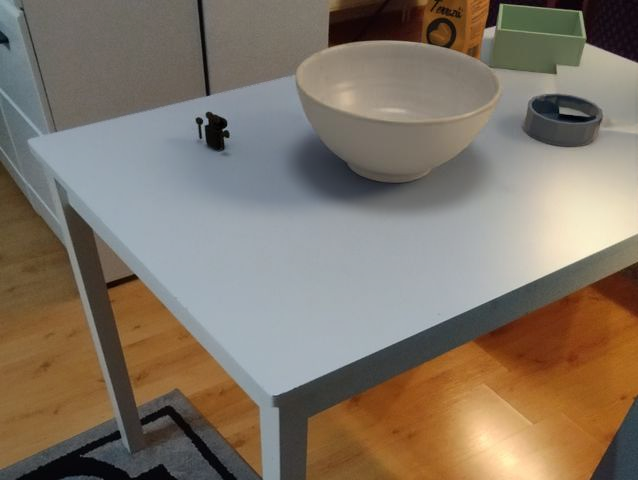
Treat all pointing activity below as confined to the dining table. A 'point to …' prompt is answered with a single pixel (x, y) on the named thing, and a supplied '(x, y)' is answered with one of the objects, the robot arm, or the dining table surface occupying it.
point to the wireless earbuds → (214, 130)
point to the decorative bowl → (396, 105)
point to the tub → (537, 38)
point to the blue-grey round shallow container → (562, 120)
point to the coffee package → (456, 25)
